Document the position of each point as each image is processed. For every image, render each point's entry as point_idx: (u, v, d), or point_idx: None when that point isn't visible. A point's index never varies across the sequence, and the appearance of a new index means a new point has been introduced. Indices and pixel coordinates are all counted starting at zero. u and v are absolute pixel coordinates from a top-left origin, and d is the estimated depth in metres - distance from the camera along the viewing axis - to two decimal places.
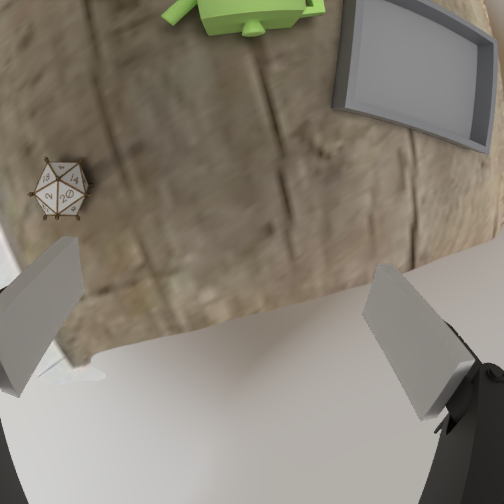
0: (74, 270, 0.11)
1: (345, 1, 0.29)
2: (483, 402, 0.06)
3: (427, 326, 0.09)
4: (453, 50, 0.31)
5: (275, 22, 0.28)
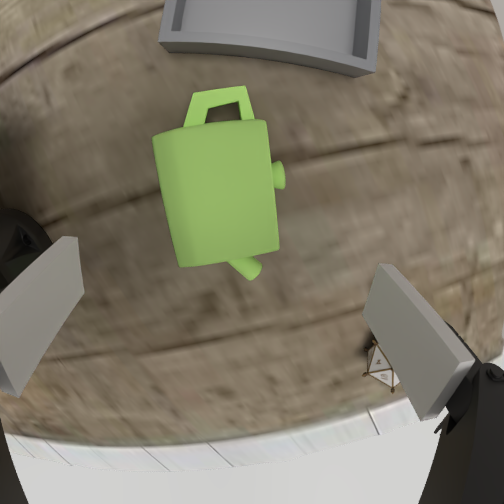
0: (74, 270, 0.11)
1: (201, 51, 0.25)
2: (483, 402, 0.06)
3: (427, 326, 0.09)
4: None
5: None
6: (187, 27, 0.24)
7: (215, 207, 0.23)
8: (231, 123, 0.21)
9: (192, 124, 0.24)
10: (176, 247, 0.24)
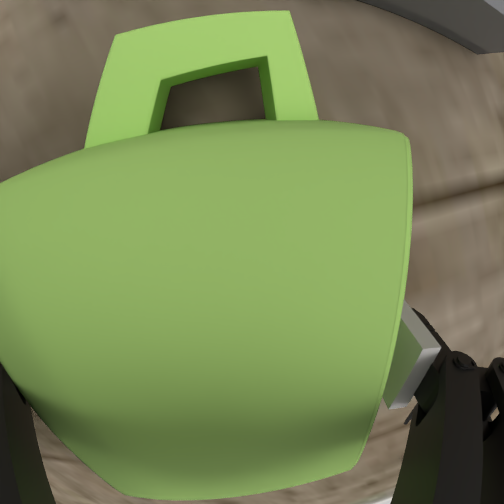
0: None
1: None
2: (451, 392, 0.06)
3: None
4: None
5: None
6: None
7: (193, 444, 0.06)
8: (249, 137, 0.04)
9: (110, 137, 0.07)
10: (108, 480, 0.07)
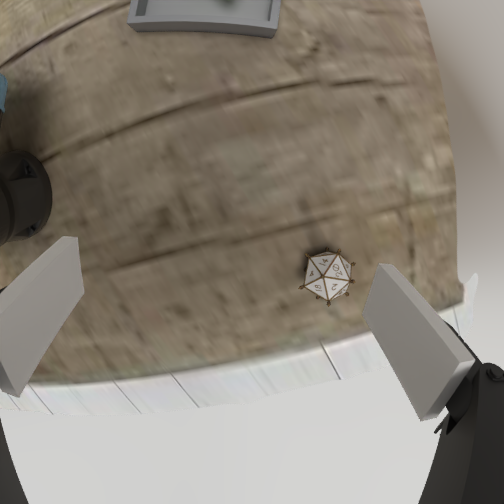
0: (74, 270, 0.11)
1: (158, 29, 0.33)
2: (483, 402, 0.06)
3: (427, 326, 0.09)
4: None
5: None
6: (149, 14, 0.32)
7: None
8: None
9: None
10: None
